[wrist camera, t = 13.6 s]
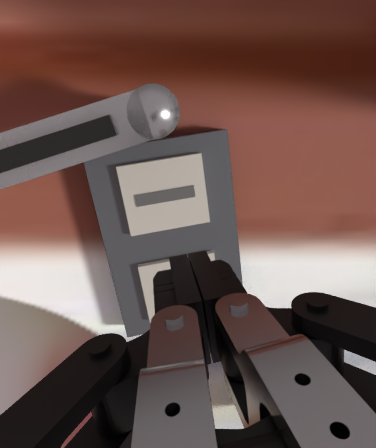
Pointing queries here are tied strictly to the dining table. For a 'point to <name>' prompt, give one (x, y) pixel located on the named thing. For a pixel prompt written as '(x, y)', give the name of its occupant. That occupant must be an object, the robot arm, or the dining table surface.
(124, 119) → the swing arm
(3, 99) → the dining table surface
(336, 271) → the dining table surface
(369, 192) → the dining table surface
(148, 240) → the label panel
